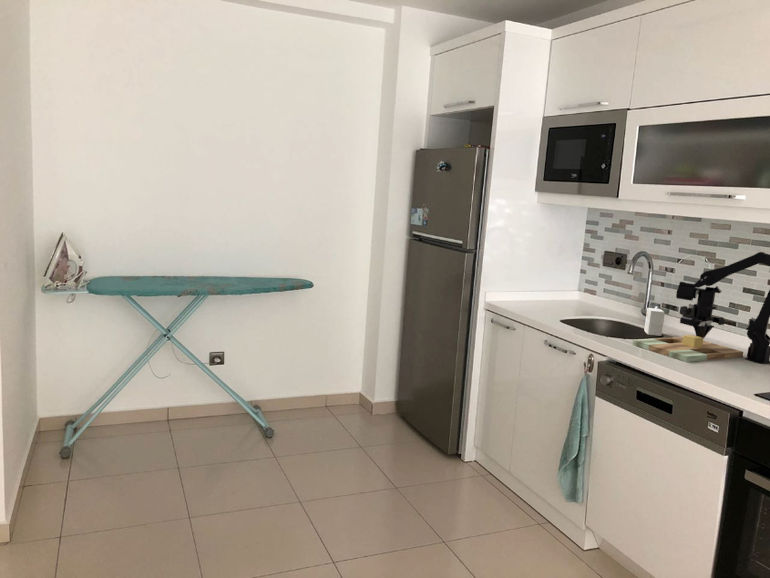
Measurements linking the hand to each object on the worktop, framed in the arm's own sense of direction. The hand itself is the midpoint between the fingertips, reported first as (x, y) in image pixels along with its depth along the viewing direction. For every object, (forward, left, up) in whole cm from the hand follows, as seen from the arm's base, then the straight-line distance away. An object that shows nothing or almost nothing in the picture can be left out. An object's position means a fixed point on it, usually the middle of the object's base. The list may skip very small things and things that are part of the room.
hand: (699, 342), depth 243 cm
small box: (+26, -5, -3) cm, 27 cm away
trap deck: (0, +7, -3) cm, 7 cm away
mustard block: (0, +4, -1) cm, 4 cm away
